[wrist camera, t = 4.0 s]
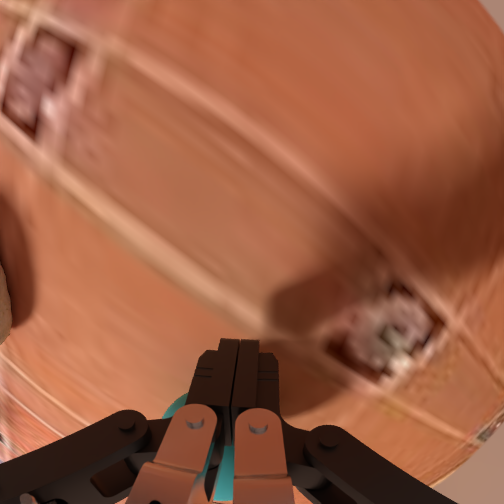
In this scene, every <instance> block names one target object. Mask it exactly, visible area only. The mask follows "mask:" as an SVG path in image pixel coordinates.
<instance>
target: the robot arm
mask: <svg viewBox="0 0 504 504" xmlns="http://www.w3.org/2000/svg"><path fill="white" fill-rule="evenodd" d="M232 440H233V445H234V446H235V458H234V478H233V504H295V502H294V494H293V486H296V488H297V489H298V490H299V491H300V492H301V493H302V494H303V495H304V496H305V497H306V498H307V499H308V500H310V501H311V502H312V503H313V504H457V503H456V502H454V501H452V500H451V499H449V498H447V497H445V496H444V495H442V494H440V493H438V492H437V491H435V490H433V489H432V488H430V487H428V486H427V485H425V484H424V483H422V482H420V481H419V480H417V479H415V478H414V477H412V476H411V475H409V474H408V473H406V472H404V471H403V470H401V469H400V468H398V467H397V466H395V465H394V464H392V463H391V462H389V461H388V460H386V459H385V458H383V457H382V456H380V455H379V454H377V453H376V452H375V451H373V450H372V449H370V448H369V447H367V446H366V445H365V444H363V443H362V442H360V441H359V440H358V439H356V438H355V437H353V436H352V435H351V434H349V433H348V432H347V431H345V430H344V429H342V428H340V427H338V426H334V425H322V426H318V427H316V428H314V429H313V430H311V431H306V430H302V429H298V428H295V427H293V426H290V425H289V424H287V423H286V422H285V421H284V420H283V419H282V417H281V415H280V411H279V374H278V361H277V359H276V358H275V356H274V355H273V353H259V340H248V339H241V341H240V339H225V338H221V339H220V343H219V347H218V351H215V350H206V351H205V352H204V353H203V354H202V355H201V356H200V357H199V360H198V363H197V366H196V369H195V373H194V377H193V379H192V382H191V386H190V389H189V392H188V396H187V399H186V402H185V405H184V406H183V407H181V408H179V409H178V410H177V411H176V412H175V414H174V415H173V416H172V417H169V418H165V419H156V420H147V419H146V417H145V416H144V415H143V414H141V413H140V412H138V411H135V410H122V411H118V412H116V413H114V414H112V415H110V416H108V417H106V418H104V419H102V420H100V421H98V422H96V423H94V424H92V425H90V426H88V427H86V428H84V429H82V430H79V431H77V432H75V433H73V434H71V435H69V436H66V437H64V438H62V439H60V440H58V441H55V442H53V443H51V444H49V445H46V446H44V447H42V448H39V449H37V450H34V451H32V452H30V453H27V454H25V455H22V456H20V457H17V458H15V459H12V460H9V461H7V462H4V463H1V464H0V504H115V503H117V502H119V501H121V500H122V499H124V498H126V497H128V498H127V501H126V503H125V504H212V503H213V499H214V495H215V491H216V487H217V483H218V479H219V475H220V471H221V467H222V459H223V454H224V447H225V446H232ZM292 485H293V486H292Z"/></svg>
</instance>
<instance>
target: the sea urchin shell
mask: <svg viewBox="0 0 504 504" xmlns="http://www.w3.org/2000/svg"><path fill="white" fill-rule="evenodd" d="M10 302H11V300H10V296H9V294H8V290H7V284H6V275H5V274H4V270H3V268H2V267H1V263H0V345H1V344H2V343H3V342H4V341H5V340H6V338H7V337H8V336H9V335H10V333H9V332H10V329H11V325H12V321H13V320H12V314H11V304H10Z"/></svg>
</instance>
